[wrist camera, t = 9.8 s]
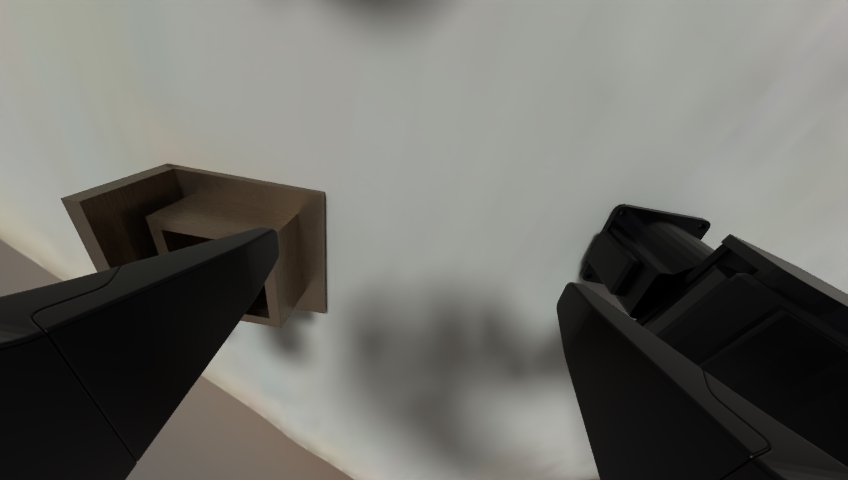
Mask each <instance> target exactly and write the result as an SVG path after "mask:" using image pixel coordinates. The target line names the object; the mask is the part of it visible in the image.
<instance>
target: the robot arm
mask: <svg viewBox="0 0 848 480" xmlns="http://www.w3.org/2000/svg"><path fill="white" fill-rule="evenodd" d="M622 210H625V212H624V213H622V214H620V212H621V211H622ZM701 224H702V225H701ZM699 225H701V226H700V227H698V226H699ZM709 228H710V223H709V222H708V221H707V220H705V219H703V218H698V217H692V216H687V215H681V214H676V213H670V212H665V211H659V210H654V209H648V208H643V207H637V206H632V205H626V204H621V205H618V206H617V207H616V208H615V209H614V211H613V213H612V214H611V216H610V218H609V220H608V222H607V224H606V226H605V228H604V230H603V231H602V232H601V233H600V235H599V236H598V238H597V240H596V242H595V244H594V246H593V248H592V250H591V252H590V253H589V255H588V257H587V262H586V264H585V265H584V267H583V269H582V271H581V276H582V278H583V279H584V280H586V281H590V282H595V283H601V284H604V285H605V286H606V288H607V289H608V291H609V292H610V294H612V295H615V296H616V298H617V299H618V300H619V302H620V303H621V305H622V306H623V307H624V309H625V310H626V312H627V313H628V314H629V316H630V317H632V318H636V319H637V320H635V321H634V320H633V319H631V318H630V317H628V316H627V315H626V314H624V313H623V312H621V311H620V310H619V309H617V308H616V307H614V306H613V305H612V304H610V303H609V302H607V301H606V300H605V299H603V298H602V297H600V296H599V295H598V294H596V293H595V292H593V291H592V290H591V289H589V288H588V287H586V286H585V285H583V284H579V283H573V282H570V283H568V284H567V285H566V287H565V289H564V291H563V293H562V294H561V296H560V298H559V300H558V303H557V314H558V320H559V326H560V332H561V338H562V344H563V349H564V354H565V358H566V362H567V365H568V369H569V372H570V376H571V379H572V383H573V386H574V390H575V393H576V397H577V400H578V404H579V407H580V411H581V414H582V418H583V421H584V425H585V428H586V432H587V435H588V438H589V442H590V445H591V449H592V452H593V456H594V459H595V463H596V466H597V470H598V473H599V477H600V480H848V294H846V293H844V292H842V291H841V290H839V289H837V288H835V287H833V286H832V285H830V284H828V283H826V282H824V281H823V280H821V279H819V278H817V277H815V276H814V275H812V274H810V273H808V272H806V271H805V270H803V269H801V268H799V267H797V266H795V265H793V264H791V263H789V262H787V261H785V260H783V259H781V258H779V257H777V256H774V255H772V254H770V253H768V252H766V251H764V250H762V249H760V248H758V247H756V246H754V245H752V244H750V243H748V242H746V241H744V240H741V239H739V238H737V237H735V236H733V235H731V234H729V235H728V236H727V237H726V238H725V239H724V240H723V241H722V243H723V244H722V245H720V246H719V247H718V248H717V249H716V250H714V249H712V248H711V247H709V246H708V245H706V244H705V243H704V242H702V241H701V239H702V238H703V236H704V235H705V233H706V232H707V231H708V229H709ZM278 258H279V244H278V235H277V231H276V230H275V229H272V228H267V227H259V228H255V229H251V230H248V231H244V232H241V233H237V234H233V235H230V236H226V237H223V238H219V239H216V240H212V241H208V242H205V243H201V244H198V245H194V246H191V247H187V248H183V249H180V250H176V251H173V252H169V253H165V254H162V255H158V256H155V257H151V258H148V259H144V260H140V261H137V262H133V263H130V264H126V265H123V266H122V267H115V268H112V269H108V270H104V271H101V272H97V273H93V274H90V275H86V276H82V277H78V278H75V279H71V280H67V281H63V282H59V283H55V284H51V285H47V286H43V287H39V288H35V289H31V290H27V291H23V292H18V293H14V294H10V295H6V296H1V297H0V480H125V479H126V478H127V477H128V475H129V474H130V472H131V471H132V470H133V468H134V467H135V465H136V464H137V462H136V461H139V460H140V458H141V457H142V455H143V454H144V453H145V451H146V450H147V448H148V447H149V446H150V444H151V443H152V442H153V440H154V439H155V437H156V436H157V435H158V433H159V432H160V430H161V429H162V428H163V426H164V425H165V424H166V422H167V421H168V419H169V418H170V417H171V415H172V414H173V413H174V411H175V410H176V408H177V407H178V406H179V404H180V403H181V401H182V400H183V399H184V397H185V396H186V394H187V393H188V392H189V390H190V389H191V388H192V386H193V385H194V383H195V382H196V381H197V379H198V378H199V377H200V375H201V374H202V372H203V371H204V370H205V368H206V367H207V366H208V364H209V363H210V361H211V360H212V359H213V357H214V356H215V354H216V353H217V352H218V350H219V349H220V348H221V346H222V345H223V343H224V342H225V341H226V339H227V338H228V336H229V335H230V334H231V332H232V331H233V330H234V328H235V327H236V325H237V324H238V323H239V321H240V320H241V318H242V317H243V316H244V314H245V313H246V312H247V310H248V309H249V307H250V306H251V305H252V303H253V302H254V300H255V299H256V297H257V295H258V294H259V292H260V290H261V289H262V287H263V285H264V283H265V281H266V280H267V278H268V276H269V274H270V273H271V271H272V269H273V267H274V265H275V264H276V262H277V260H278ZM589 273H590V275H587V274H589Z"/></svg>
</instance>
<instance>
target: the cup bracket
mask: <svg viewBox="0 0 848 480" xmlns="http://www.w3.org/2000/svg"><path fill="white" fill-rule="evenodd" d="M61 200H62V202H63V204H64V206H65V208H66V210H67V212H68V214H69V216H70V218H71V220H72V222H73V224H74V226H75V228H76V230H77V232H78V234H79V236H80V238H81V240H82V242H83V244H84V246H85V248H86V250H87V252H88V254H89V256H90V258H91V260H92V262H93V264H94V266H95V268H96V270H97V272H101V271H104V270H108V269H112V268H115V267H122V266H123V265H126V264H130V263H133V262H137V261H140V260H144V259H148V258H151V257H155V256H158V255H162V254H165V253H169V252H173V251H176V250H180V249H183V248H187V247H191V246H194V245H198V244H201V243H205V242H208V241H212V240H216V239H219V238H223V237H226V236H230V235H233V234H237V233H241V232H244V231H248V230H251V229H255V228H259V227H267V228H272V229H275V230H276V231H277V235H278V244H279V258H278V260H277V262H276V264H275V265H274V267H273V269H272V271H271V273H270V274H269V276H268V278H267V280H266V281H265V283H264V285H263V287H262V289H261V290H260V292H259V294H258V295H257V297H256V299H255V300H254V302H253V303H252V305H251V306H250V307H249V309H248V310H247V312H246V313H245V314H244V316H243V317H242V318H241V321H246V322H252V323H257V324H263V325H268V326H274V327H280V328H281V327H282V325H283V324H284V322H285V321H286V319H287V318H288V316H289V315H290V313H291V312H292V310H293V309H294V308H296V309H302V310H307V311H313V312H318V313H324V312H325V311H326V248H325V192H321V191H316V190H310V189H305V188H299V187H294V186H288V185H283V184H277V183H272V182H266V181H261V180H255V179H250V178H244V177H239V176H233V175H228V174H222V173H217V172H211V171H206V170H200V169H195V168H189V167H184V166H178V165H173V164H164V165H161V166H158V167H155V168H152V169H149V170H146V171H143V172H140V173H137V174H134V175H131V176H128V177H125V178H122V179H119V180H116V181H113V182H110V183H106V184H103V185H100V186H97V187H94V188H91V189H88V190H85V191H82V192H79V193H76V194H73V195H70V196H67V197H64V198H61Z"/></svg>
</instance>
